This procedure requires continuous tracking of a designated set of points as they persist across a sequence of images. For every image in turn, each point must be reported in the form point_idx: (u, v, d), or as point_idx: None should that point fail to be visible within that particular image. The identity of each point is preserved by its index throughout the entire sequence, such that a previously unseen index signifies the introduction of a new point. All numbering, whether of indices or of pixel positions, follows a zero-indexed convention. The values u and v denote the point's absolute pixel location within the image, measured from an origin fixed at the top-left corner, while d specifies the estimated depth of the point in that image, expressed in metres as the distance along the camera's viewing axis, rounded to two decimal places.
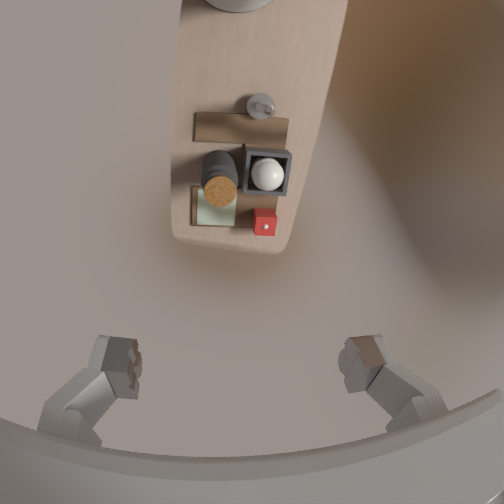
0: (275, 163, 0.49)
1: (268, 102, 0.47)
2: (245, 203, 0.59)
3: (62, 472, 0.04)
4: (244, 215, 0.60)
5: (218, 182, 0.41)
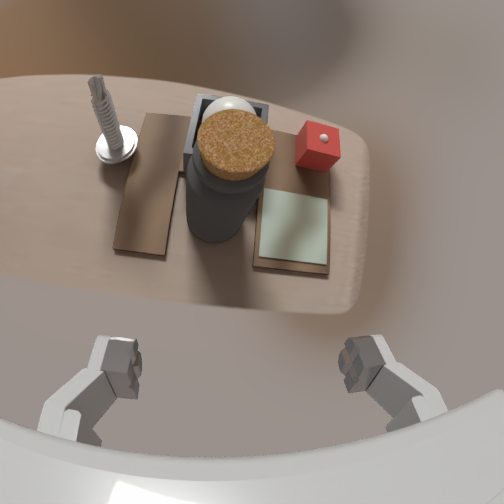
0: (207, 107, 0.27)
1: None
2: (287, 177, 0.33)
3: (62, 472, 0.04)
4: (308, 181, 0.34)
5: (211, 138, 0.16)
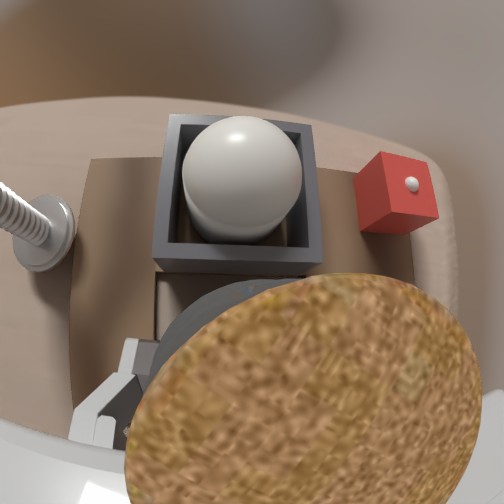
0: (190, 146, 0.13)
1: None
2: (350, 257, 0.19)
3: (62, 472, 0.04)
4: (382, 257, 0.19)
5: None
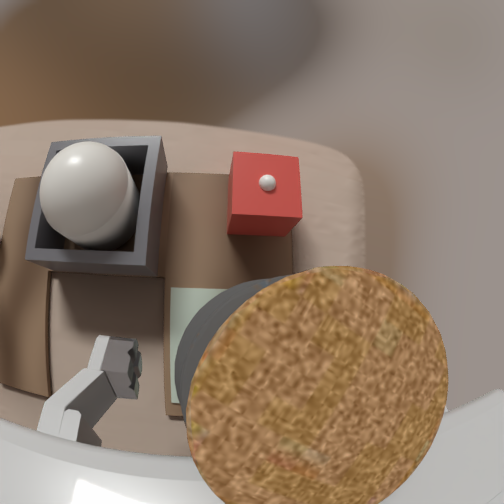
0: None
1: None
2: (212, 260, 0.19)
3: (62, 472, 0.04)
4: (252, 260, 0.20)
5: (250, 447, 0.03)
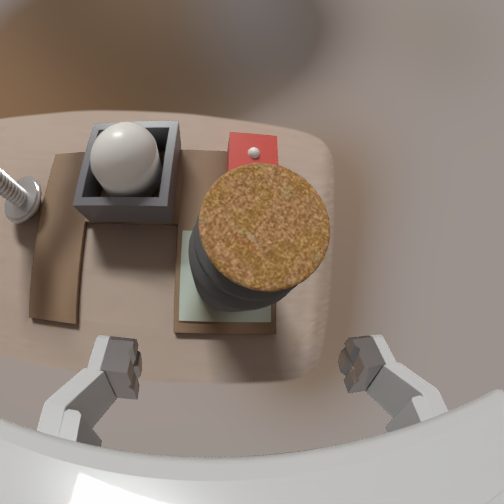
0: None
1: None
2: None
3: (62, 472, 0.04)
4: None
5: (224, 228, 0.10)
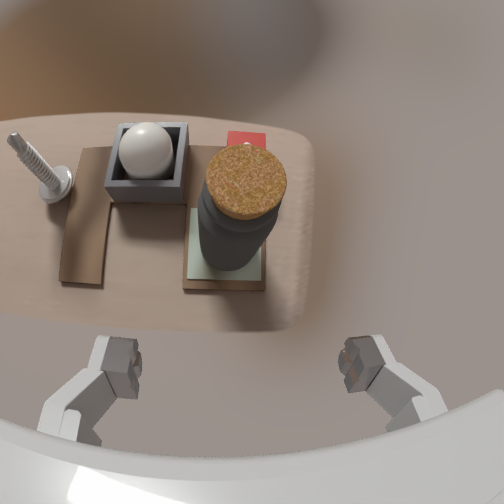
0: None
1: None
2: None
3: (62, 472, 0.04)
4: None
5: (221, 180, 0.16)
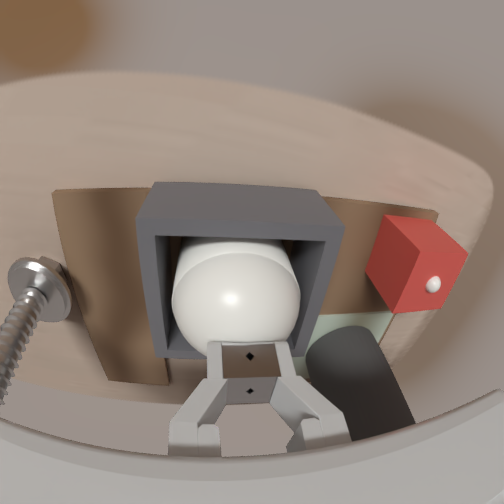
0: (177, 296, 0.11)
1: (18, 279, 0.13)
2: (344, 293, 0.19)
3: (62, 472, 0.04)
4: (377, 291, 0.19)
5: None
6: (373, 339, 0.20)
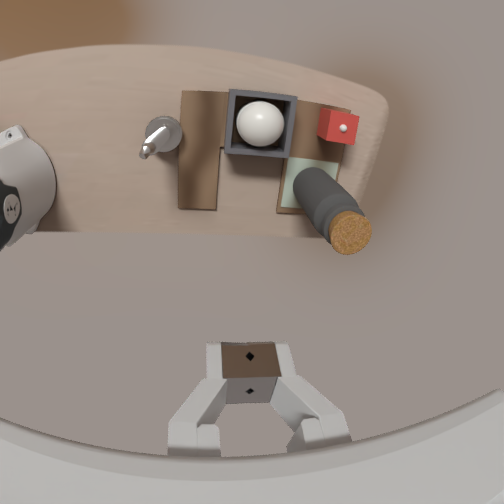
0: (240, 115, 0.32)
1: (156, 125, 0.33)
2: (308, 146, 0.39)
3: (62, 472, 0.04)
4: (325, 148, 0.39)
5: (338, 238, 0.29)
6: None
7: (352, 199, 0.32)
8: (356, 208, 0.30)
